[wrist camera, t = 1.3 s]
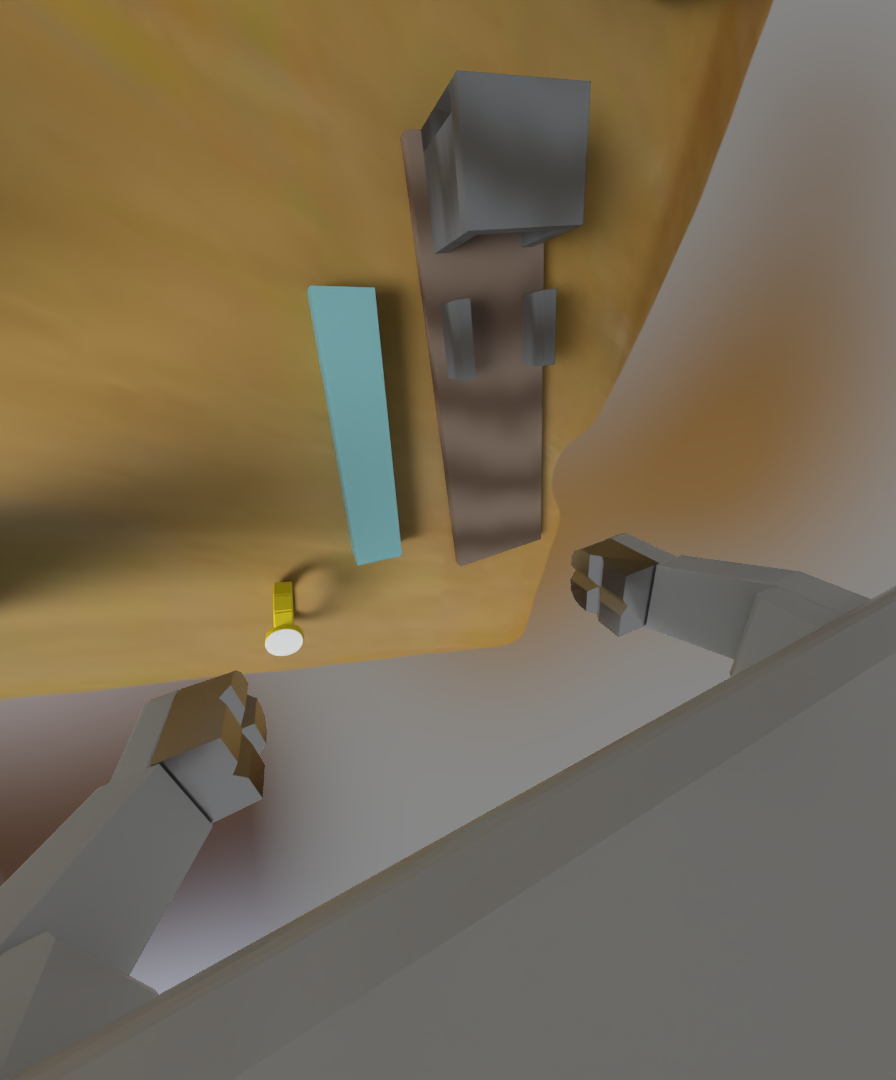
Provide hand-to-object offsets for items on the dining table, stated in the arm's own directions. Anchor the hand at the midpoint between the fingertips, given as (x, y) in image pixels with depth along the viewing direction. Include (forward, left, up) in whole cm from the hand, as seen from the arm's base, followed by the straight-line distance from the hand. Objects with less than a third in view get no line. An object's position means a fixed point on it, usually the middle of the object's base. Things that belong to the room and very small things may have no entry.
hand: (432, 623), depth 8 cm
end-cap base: (-1, +14, -24) cm, 28 cm away
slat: (+1, +2, -24) cm, 24 cm away
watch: (+13, -8, -24) cm, 29 cm away
